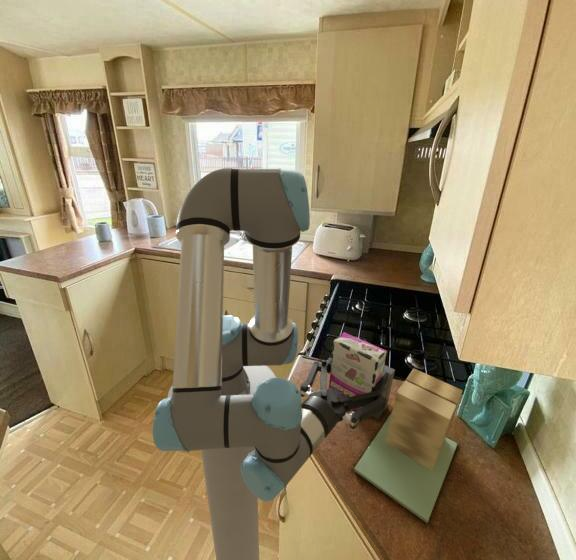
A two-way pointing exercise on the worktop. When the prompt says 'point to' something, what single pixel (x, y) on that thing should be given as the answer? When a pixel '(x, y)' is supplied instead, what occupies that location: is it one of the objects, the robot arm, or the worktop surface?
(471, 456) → the worktop surface
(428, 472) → the sage board
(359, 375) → the candy bar box
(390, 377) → the grey box
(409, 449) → the cardboard box
